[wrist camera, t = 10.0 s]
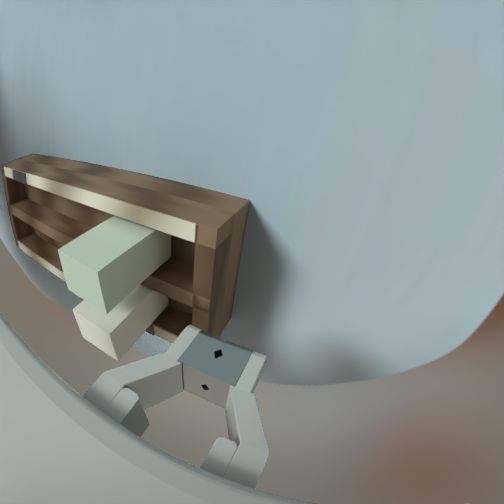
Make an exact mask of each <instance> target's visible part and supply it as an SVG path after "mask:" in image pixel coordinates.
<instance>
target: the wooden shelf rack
mask: <svg viewBox="0 0 504 504" xmlns="http://www.w3.org/2000/svg"><path fill="white" fill-rule="evenodd" d="M2 173H3V181H4V188H5V194H6V200H7V205H8V210H9V215H10V220H11V224H12V229H13V233H14V237H15V240H16V244H17V246H18V247H19V248H20V249H21V250H22V251H24V252H25V253H26V254H27V255H29V256H30V257H31V258H33V259H34V260H35V261H37V262H38V263H39V264H41V265H42V266H43V267H45V268H46V269H48V270H49V271H50V272H52V273H53V274H55V275H56V276H57V277H59V278H60V279H62V280H63V281H65V282H66V280H65V276H64V273H63V269H62V265H61V261H60V257H59V253H58V249H60V248H61V247H63V246H64V245H66V244H67V243H69V242H71V241H72V240H74V239H76V238H77V237H79V236H80V235H82V234H84V233H85V232H87V231H89V230H90V229H92V228H94V227H96V226H97V225H99V224H101V223H102V222H104V221H106V220H108V219H110V218H111V217H113V216H118V217H121V218H124V219H127V220H130V221H133V222H136V223H138V224H141V225H144V226H147V227H150V228H153V229H156V230H159V231H162V232H165V233H167V234H170V235H171V257H170V258H169V259H168V260H167V261H165V262H164V263H163V264H162V265H161V266H160V267H159V268H157V269H156V270H155V271H154V272H153V273H152V274H151V275H150V276H148V277H147V278H146V279H145V280H144V281H143V282H142V283H141V285H143V286H146V287H148V288H150V289H152V290H154V291H156V292H159V293H161V294H163V295H165V296H168V301H169V305H168V306H167V307H166V308H165V309H164V310H163V311H162V312H161V314H160V315H159V316H158V317H157V318H156V319H155V320H154V321H153V323H152V324H151V325H150V326H149V327H148V328H147V329H146V330H145V331H146V332H148V333H150V334H152V335H154V334H155V335H157V336H159V337H161V338H163V339H165V340H167V341H169V342H171V343H174V341H175V340H176V339H177V338H178V336H179V335H180V334H181V333H182V331H183V330H184V329H185V328H186V327H187V326H188V325H192V326H194V327H197V328H199V329H201V330H203V331H205V332H208V333H210V334H212V335H214V336H216V337H219V336H220V334H221V333H222V331H223V330H224V328H225V326H226V325H227V323H228V321H229V320H230V318H231V312H232V305H233V299H234V293H235V287H236V280H237V274H238V268H239V262H240V256H241V250H242V244H243V238H244V232H245V226H246V220H247V214H248V208H249V202H250V200H246V199H242V198H239V197H235V196H231V195H227V194H224V193H220V192H216V191H212V190H208V189H204V188H200V187H196V186H192V185H188V184H184V183H180V182H176V181H172V180H167V179H163V178H159V177H154V176H150V175H145V174H141V173H136V172H131V171H127V170H122V169H117V168H112V167H107V166H102V165H97V164H91V163H86V162H80V161H75V160H69V159H63V158H57V157H51V156H45V155H38V154H30V155H27V156H24V157H22V158H19V159H16V160H14V161H11V162H9V163H6V164H4V165H2Z"/></svg>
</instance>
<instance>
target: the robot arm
mask: <svg viewBox="0 0 504 504" xmlns="http://www.w3.org/2000/svg"><path fill="white" fill-rule="evenodd" d="M266 359H267V356H266V355H263V354H261V353H258V352H255V351H253V350H251V349H248V348H245V347H243V346H240V345H237V344H235V343H232V342H229V341H225V340H223V339H221V338H219V337H216V336H214V335H212V334H210V333H208V332H205V331H203V330H201V329H199V328H197V327H194V326H192V325H188V326H187V327H186V328H185V329H184V330H183V331H182V333H181V334H180V335H179V336H178V338H177V339H176V340H175V341H174V343H173V344H172V345H171V347H170V348H169V349H168V350H167V352H166V353H165V354H163V353H159V354H156V355H153V356H150V357H147V358H144V359H141V360H138V361H135V362H132V363H129V364H126V365H123V366H120V367H117V368H113V369H110V370H107V371H104V373H103V374H102V375H101V376H100V377H99V378H98V379H97V380H96V381H95V383H94V384H93V385H92V386H91V387H90V388H89V389H88V390H87V391H86V393H85V394H84V395H83V396H81V395H80V394H79V393H78V392H77V391H75V390H74V389H73V388H72V387H71V386H69V385H68V384H67V383H66V382H65V381H64V380H63V379H62V378H60V377H59V376H58V375H57V374H56V373H55V372H54V371H53V370H52V369H51V368H50V367H49V366H48V365H47V364H46V363H44V361H43V360H42V359H41V358H39V356H38V355H37V354H36V353H35V352H34V351H33V350H32V349H31V348H30V347H29V346H28V345H27V344H26V343H25V342H24V340H23V339H22V338H21V337H20V336H19V335H18V334H17V333H16V331H15V330H14V329H13V328H12V326H11V325H10V324H9V323H8V322H7V320H6V319H5V318H4V317H3V315H2V314H1V313H0V504H316V503H310V502H304V501H300V500H295V499H291V498H287V497H283V496H279V495H275V494H271V493H267V492H264V491H261V490H257V489H255V486H256V484H257V482H258V479H259V477H260V475H261V473H262V470H263V467H264V465H265V463H266V460H267V458H268V455H269V450H268V446H267V442H266V438H265V434H264V430H263V426H262V422H261V418H260V414H259V409H258V405H257V401H256V397H255V395H254V394H253V392H254V390H255V388H256V386H257V383H258V381H259V378H260V376H261V373H262V370H263V367H264V365H265V362H266ZM183 390H186V391H188V392H190V393H192V394H194V395H197V396H199V397H201V398H203V399H206V400H208V401H210V402H212V403H214V404H216V405H219V406H221V407H223V408H225V412H226V420H227V427H228V435H229V439H226V438H224V437H220V438H217V439H216V441H215V443H214V444H213V446H212V448H211V450H210V451H209V453H208V455H207V457H206V458H205V460H204V462H203V464H202V465H201V467H200V468H199V467H196V466H194V465H192V464H190V463H188V462H186V461H184V460H181V459H179V458H177V457H175V456H173V455H172V454H170V453H168V452H166V451H164V450H162V449H160V448H158V447H157V446H155V445H153V444H151V443H150V442H148V441H146V440H145V439H143V438H141V436H142V435H143V434H144V432H145V431H146V429H147V427H148V426H149V422H148V419H147V417H146V414H145V412H144V410H145V409H147V408H149V407H151V406H154V405H156V404H158V403H160V402H162V401H164V400H166V399H168V398H170V397H172V396H174V395H176V394H178V393H180V392H182V391H183Z"/></svg>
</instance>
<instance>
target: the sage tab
mask: <svg viewBox="0 0 504 504" xmlns="http://www.w3.org/2000/svg"><path fill="white" fill-rule="evenodd" d="M58 253H59V257H60V261H61V265H62V269H63V273H64V276H65V280H66V283H67V287H68V290H70V291H71V292H73V293H74V294H76V295H77V296H79V297H80V298H82V299H83V300H85V301H86V302H88V303H90V304H91V305H93V306H94V307H96V308H97V309H99V310H101V311H102V312H104V313H106V314H108V313H109V312H110V311H111V310H112V309H113V308H114V307H116V306H117V305H118V304H119V303H120V302H121V301H122V300H123V299H124V298H125V297H126V296H127V295H129V294H130V293H131V292H132V291H133V290H134V289H135V288H136V287H137V286H138V285H140V284H141V283H142V282H143V281H144V280H145V279H146V278H147V277H148V276H150V275H151V274H152V273H153V272H154V271H155V270H156V269H157V268H159V267H160V266H161V265H162V264H163V263H164V262H165V261H167V260H168V259H169V258H170V257H171V235H170V234H167V233H165V232H162V231H159V230H156V229H153V228H150V227H147V226H144V225H141V224H138V223H136V222H133V221H130V220H127V219H124V218H121V217H118V216H113V217H111V218H110V219H108V220H106V221H104V222H102V223H101V224H99V225H97V226H96V227H94V228H92V229H90V230H89V231H87V232H85V233H84V234H82V235H80V236H79V237H77V238H76V239H74V240H72V241H71V242H69V243H67V244H66V245H64V246H63V247H61V248H60V249H58Z"/></svg>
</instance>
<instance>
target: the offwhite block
mask: <svg viewBox="0 0 504 504" xmlns="http://www.w3.org/2000/svg"><path fill="white" fill-rule="evenodd" d="M168 305H169V301H168V296H165V295H163V294H161V293H159V292H156V291H154V290H152V289H150V288H148V287H146V286H143V285H141V284H140V285H138V286H137V287H136V288H135V289H134V290H133V291H132V292H131V293H130V294H129V295H127V296H126V297H125V298H124V299H123V300H122V301H121V302H120V303H119V304H118V305H117V306H116V307H114V308H113V309H112V310H111V311H110V312H109V313H108V314H106V313H104V312H102V311H101V310H99V309H97V308H96V307H94V306H93V305H91V304H90V303H88V302H86V301H85V300H83V301H82V302H81V303H79V304H78V305H77V306H76V307H75V308H74V309H73V312H74V315H75V318H76V320H77V323H78V326H79V328H80V331H81V333H82V336H83V338H85V339H86V340H87V341H89V342H91V343H92V344H93V345H95V346H96V347H98V348H99V349H100V350H102V351H104V352H105V353H106V354H108V355H109V356H111V357H113V358H114V359H116V360H117V361H119V360H120V359H121V358H122V356H123V355H124V354H125V353H126V352H127V351H128V350H129V348H130V347H131V346H132V345H133V344H134V343H135V342H136V340H137V339H138V338H139V337H140V336H141V335H142V334H143V333H144V331H145V330H146V329H147V328H148V327H149V326H150V325H151V324H152V323H153V321H154V320H155V319H156V318H157V317H158V316H159V315H160V314H161V312H162V311H163V310H164V309H165V308H166V307H167V306H168Z"/></svg>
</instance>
